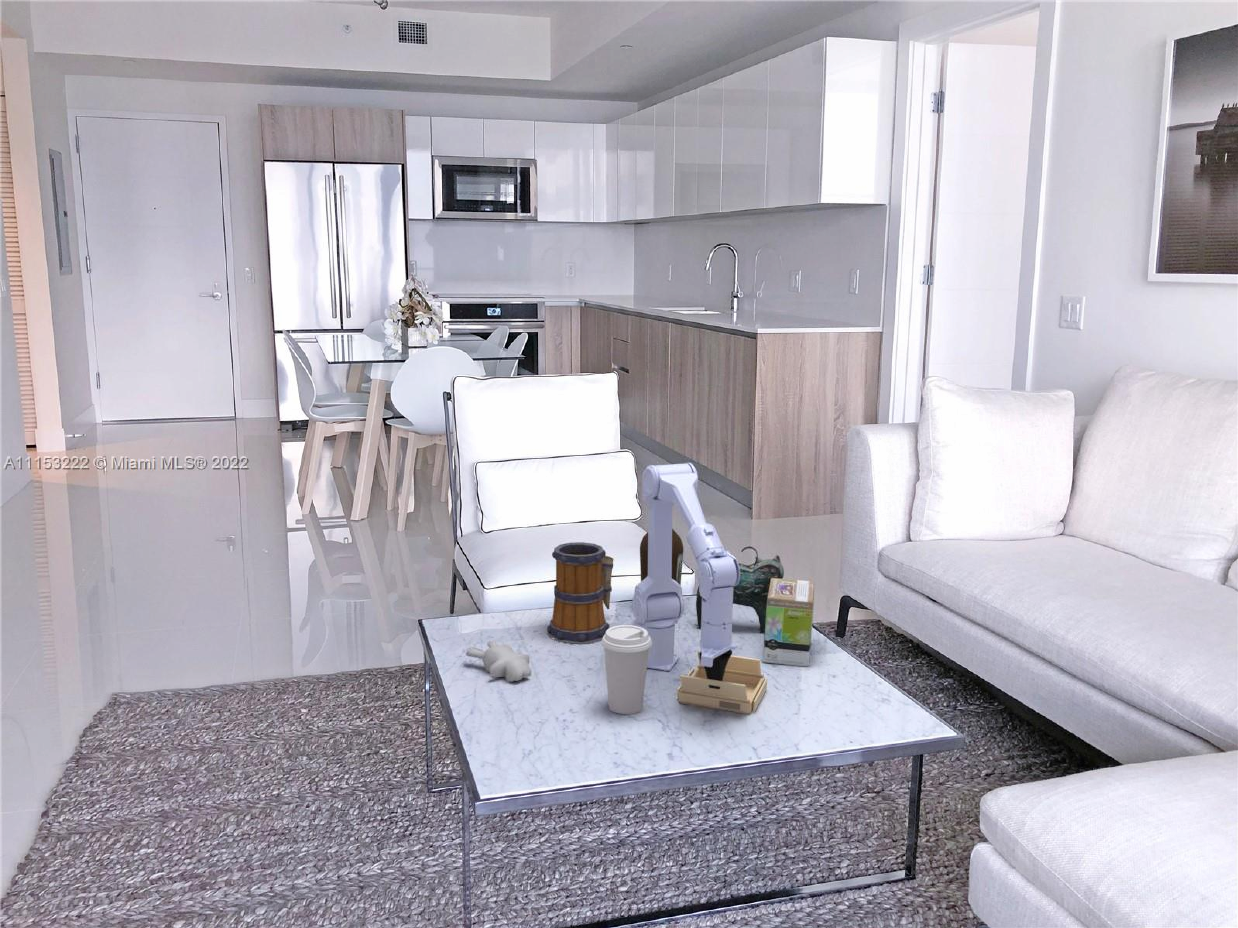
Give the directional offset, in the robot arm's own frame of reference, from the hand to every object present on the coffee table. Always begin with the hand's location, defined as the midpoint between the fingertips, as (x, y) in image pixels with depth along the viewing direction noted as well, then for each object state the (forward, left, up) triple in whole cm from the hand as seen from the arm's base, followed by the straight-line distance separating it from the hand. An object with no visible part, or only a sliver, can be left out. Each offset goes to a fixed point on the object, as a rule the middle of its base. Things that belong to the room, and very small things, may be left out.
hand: (714, 687), depth 187 cm
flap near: (0, +2, -2) cm, 3 cm away
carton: (0, +8, -5) cm, 9 cm away
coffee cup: (-16, -4, -5) cm, 17 cm away
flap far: (0, +14, -2) cm, 15 cm away
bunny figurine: (-46, +3, -5) cm, 46 cm away
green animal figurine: (-6, +45, -5) cm, 45 cm away
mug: (-39, +31, -5) cm, 50 cm away
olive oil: (-27, +52, -5) cm, 59 cm away
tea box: (+8, +35, -5) cm, 36 cm away
